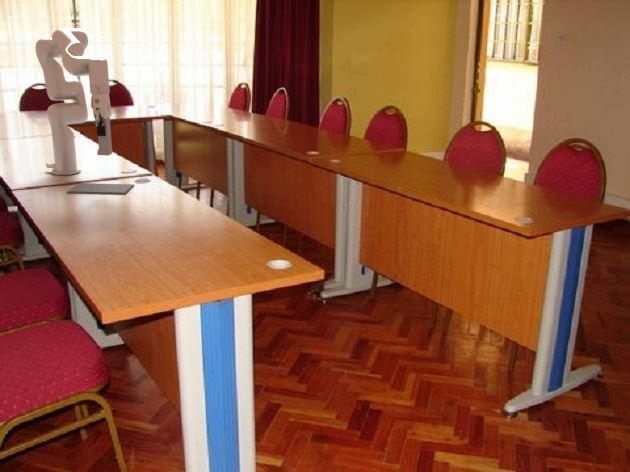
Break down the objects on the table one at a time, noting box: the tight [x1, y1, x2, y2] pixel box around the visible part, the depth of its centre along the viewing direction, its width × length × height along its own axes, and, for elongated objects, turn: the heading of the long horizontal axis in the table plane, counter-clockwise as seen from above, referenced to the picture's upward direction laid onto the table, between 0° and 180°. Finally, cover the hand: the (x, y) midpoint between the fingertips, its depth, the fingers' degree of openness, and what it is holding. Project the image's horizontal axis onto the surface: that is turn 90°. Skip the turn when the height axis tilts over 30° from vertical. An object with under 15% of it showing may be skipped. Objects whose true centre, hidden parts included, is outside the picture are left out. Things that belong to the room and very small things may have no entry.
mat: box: [66, 182, 135, 195], centre depth 284 cm, size 24×14×1 cm, turn 90°
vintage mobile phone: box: [94, 116, 113, 157], centre depth 275 cm, size 4×5×25 cm
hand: (103, 134), depth 276 cm, fingers closed on vintage mobile phone, 4 cm apart
